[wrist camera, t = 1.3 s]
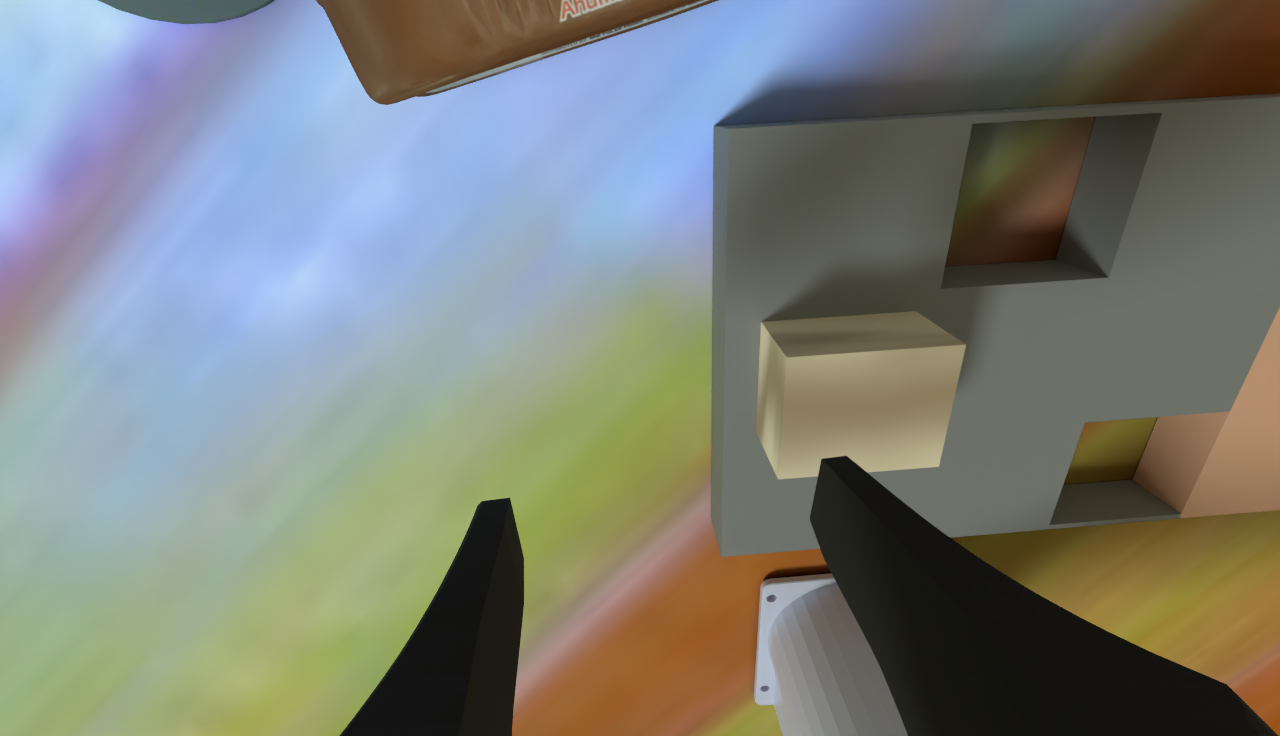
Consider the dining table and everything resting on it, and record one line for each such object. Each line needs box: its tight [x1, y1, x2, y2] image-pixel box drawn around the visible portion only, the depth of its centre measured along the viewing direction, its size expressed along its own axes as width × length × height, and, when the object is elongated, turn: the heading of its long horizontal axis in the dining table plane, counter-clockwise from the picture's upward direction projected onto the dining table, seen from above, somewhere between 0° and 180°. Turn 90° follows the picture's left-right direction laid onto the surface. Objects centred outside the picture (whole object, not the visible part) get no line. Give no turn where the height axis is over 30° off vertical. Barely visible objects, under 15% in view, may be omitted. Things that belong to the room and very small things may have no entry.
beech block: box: [756, 311, 966, 479], centre depth 19 cm, size 4×6×3 cm
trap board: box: [711, 93, 1280, 557], centre depth 21 cm, size 17×27×4 cm, turn 93°
